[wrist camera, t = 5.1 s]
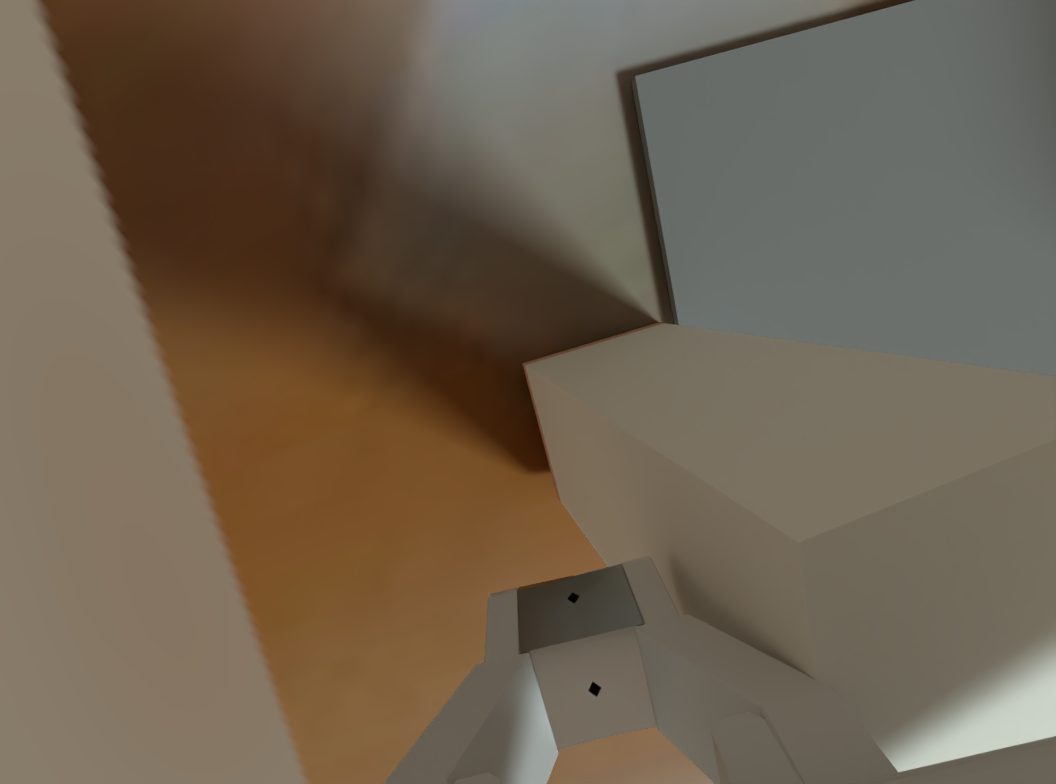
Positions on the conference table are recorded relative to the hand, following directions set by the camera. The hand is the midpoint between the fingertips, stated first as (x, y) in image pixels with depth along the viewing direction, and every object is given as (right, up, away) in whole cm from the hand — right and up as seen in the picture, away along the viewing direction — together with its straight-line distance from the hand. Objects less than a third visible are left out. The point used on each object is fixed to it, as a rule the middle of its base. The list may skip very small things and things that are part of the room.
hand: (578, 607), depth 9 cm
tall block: (+2, +3, +9) cm, 10 cm away
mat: (+13, +6, +9) cm, 17 cm away
